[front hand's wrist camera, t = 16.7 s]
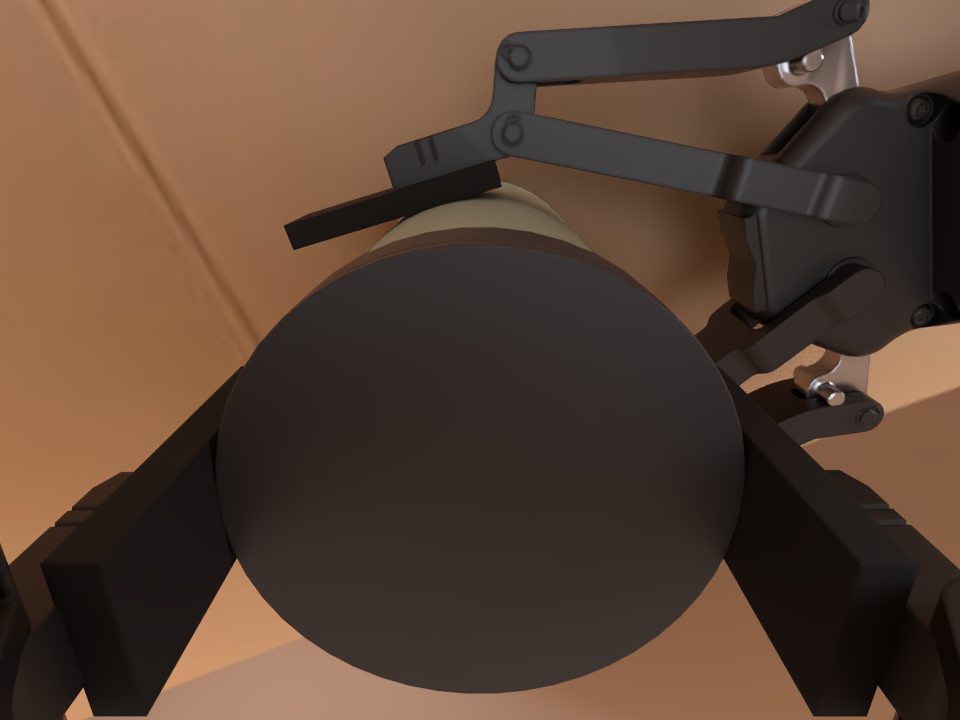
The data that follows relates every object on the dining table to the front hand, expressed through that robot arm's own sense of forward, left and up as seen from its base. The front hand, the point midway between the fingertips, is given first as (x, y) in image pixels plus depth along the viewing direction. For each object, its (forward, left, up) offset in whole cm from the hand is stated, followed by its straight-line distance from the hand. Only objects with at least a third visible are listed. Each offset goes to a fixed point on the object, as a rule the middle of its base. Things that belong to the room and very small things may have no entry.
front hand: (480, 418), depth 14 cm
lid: (0, 0, +3) cm, 3 cm away
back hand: (-4, -1, -6) cm, 8 cm away
